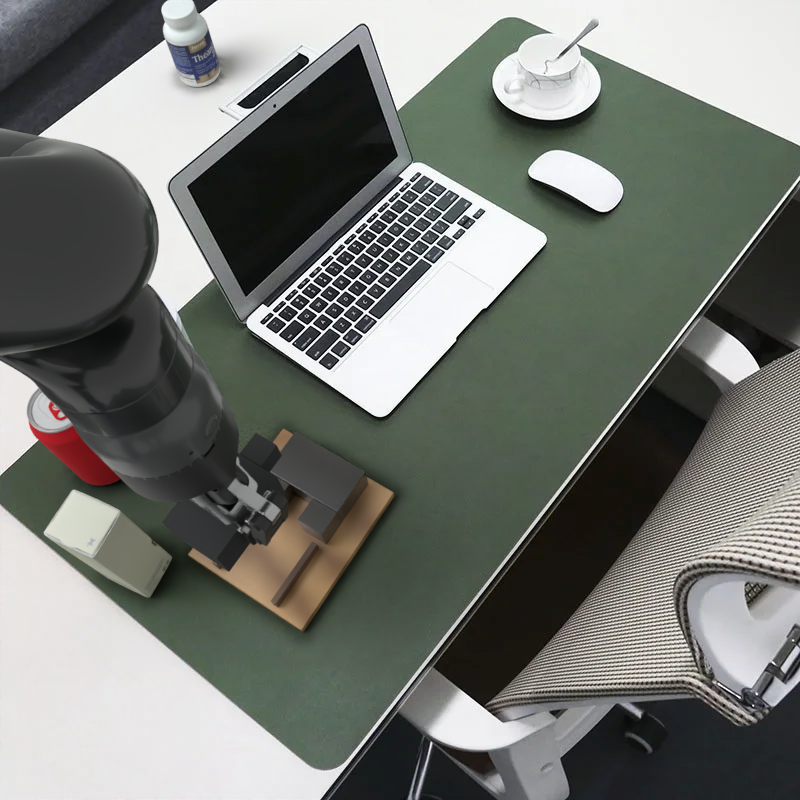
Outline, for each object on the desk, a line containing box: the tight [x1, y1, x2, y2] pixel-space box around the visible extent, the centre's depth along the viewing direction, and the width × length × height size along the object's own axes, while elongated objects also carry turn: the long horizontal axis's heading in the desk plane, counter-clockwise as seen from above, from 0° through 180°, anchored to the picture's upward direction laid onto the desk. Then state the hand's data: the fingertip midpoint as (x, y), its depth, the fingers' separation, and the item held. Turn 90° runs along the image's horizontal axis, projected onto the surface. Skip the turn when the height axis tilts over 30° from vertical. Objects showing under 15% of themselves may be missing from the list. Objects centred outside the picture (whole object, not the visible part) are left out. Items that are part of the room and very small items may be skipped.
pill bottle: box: [161, 0, 221, 88], centre depth 103 cm, size 5×5×10 cm
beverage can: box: [26, 387, 122, 486], centre depth 78 cm, size 6×6×12 cm
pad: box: [161, 432, 286, 572], centre depth 61 cm, size 9×5×4 cm, turn 147°
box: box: [43, 489, 173, 599], centre depth 72 cm, size 5×4×13 cm
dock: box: [187, 428, 395, 633], centre depth 77 cm, size 15×13×4 cm
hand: (230, 512), depth 62 cm, fingers closed on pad, 5 cm apart
